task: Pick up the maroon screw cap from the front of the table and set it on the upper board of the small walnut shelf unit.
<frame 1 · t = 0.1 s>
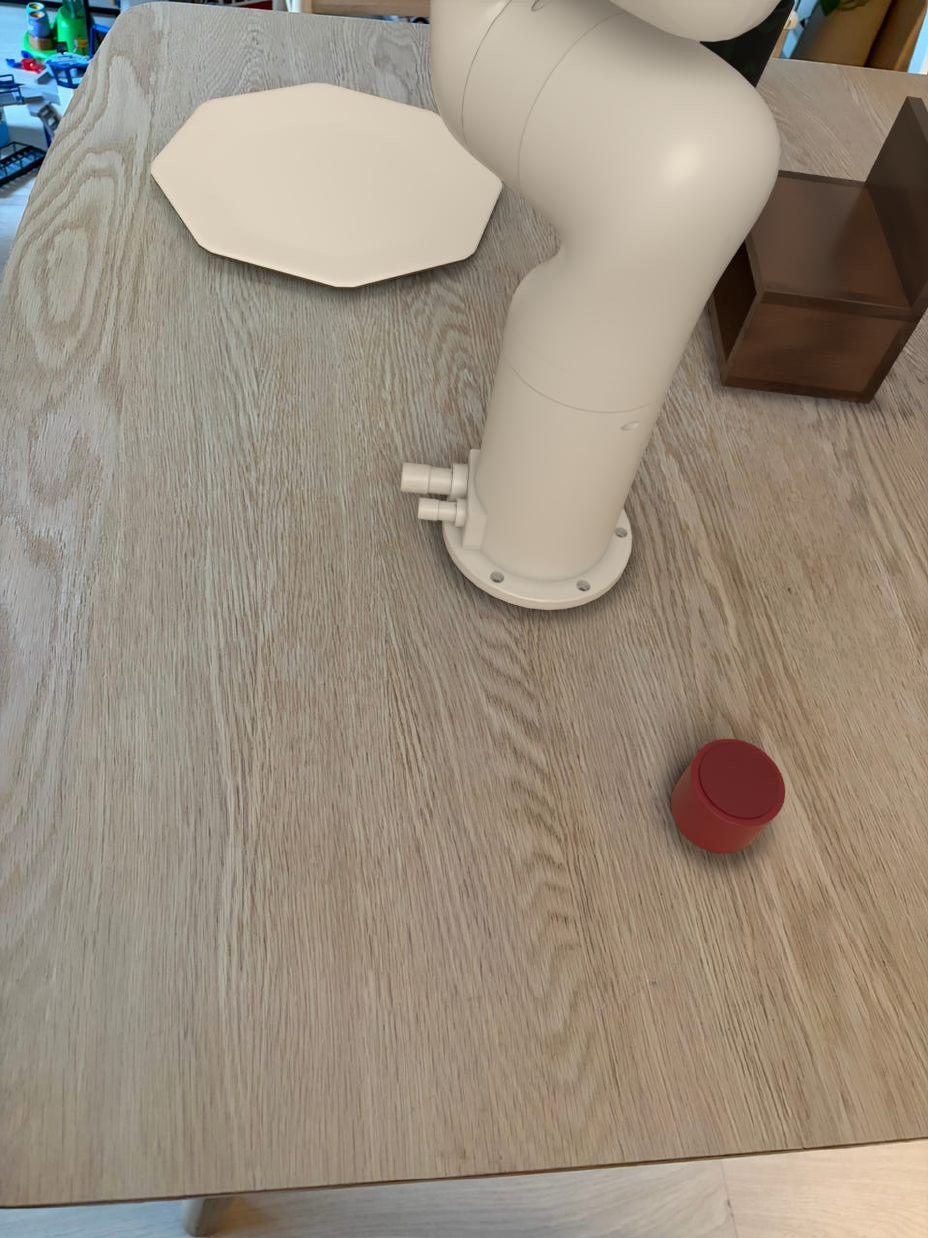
plate: (331, 192, 88), on the table
cap: (715, 810, 58), on the table
shelf: (780, 328, 85), on the table
cup: (710, 119, 103), on the table
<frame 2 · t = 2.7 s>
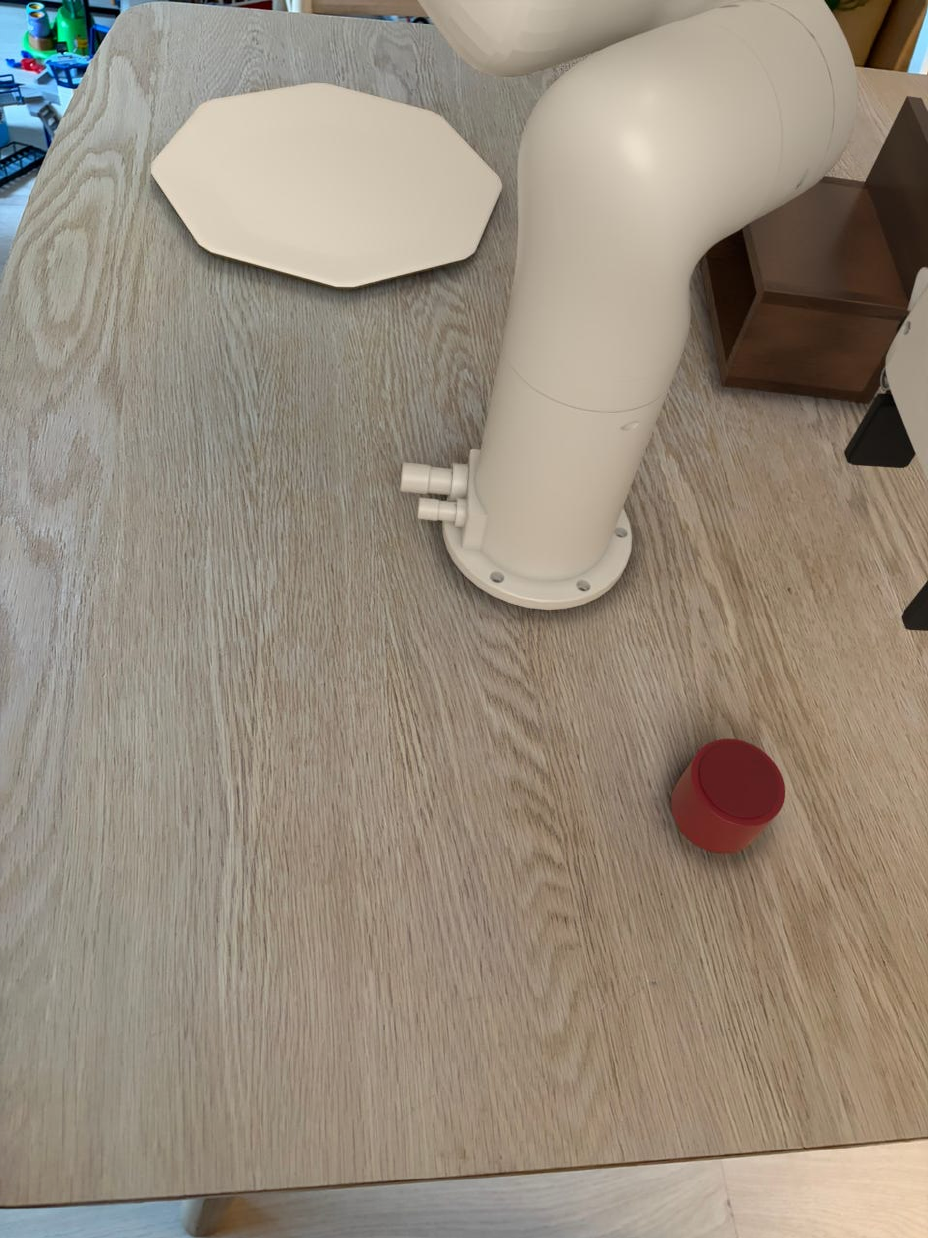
hand: (902, 538, 47), 18 cm above the table, tool pointing down, fingers open, 9 cm apart
nothing on the table moved.
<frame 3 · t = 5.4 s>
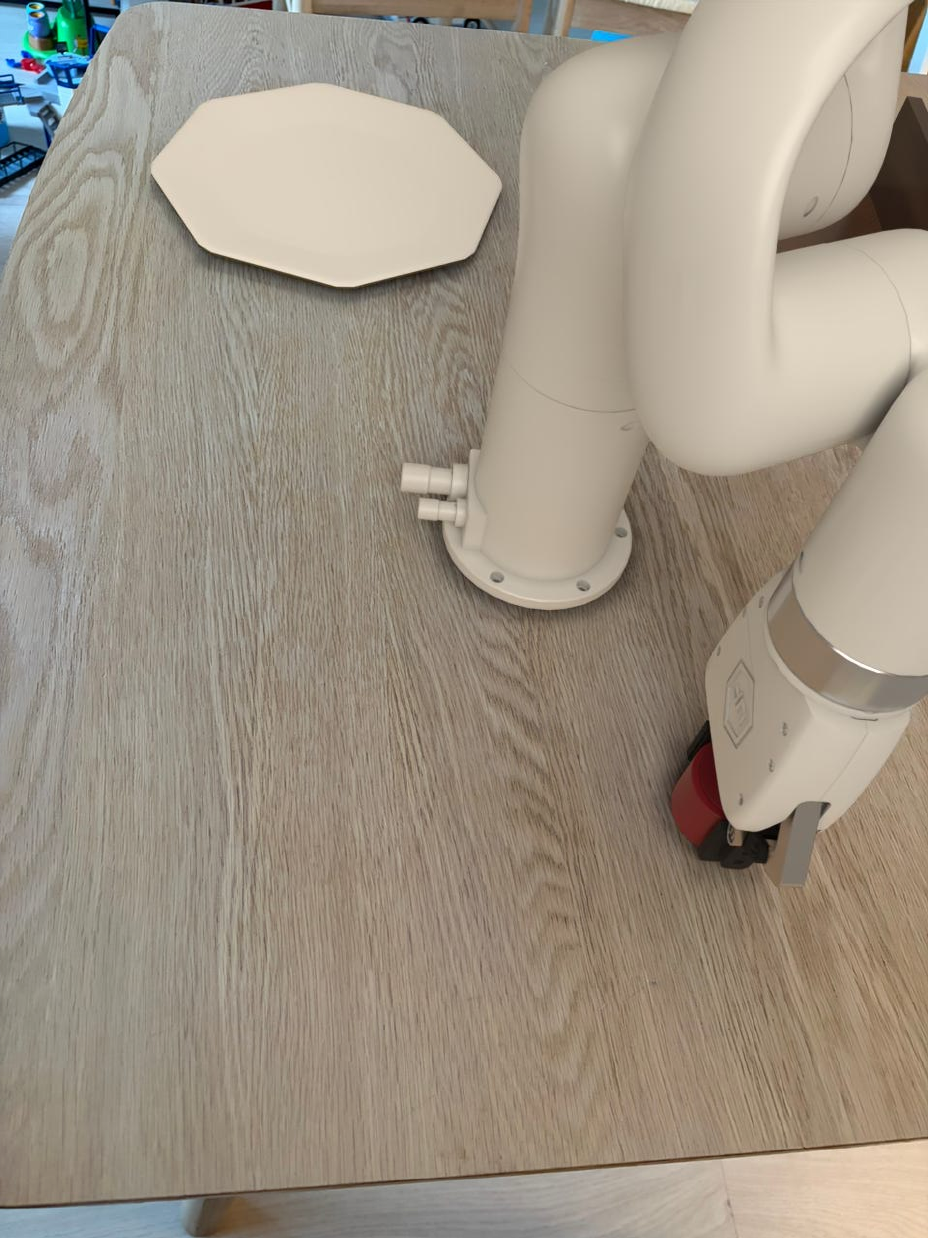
hand: (719, 806, 58), 1 cm above the table, tool pointing down, fingers closed on cap, 5 cm apart
cap: (715, 810, 58), on the table, touching gripper
everything else where it was.
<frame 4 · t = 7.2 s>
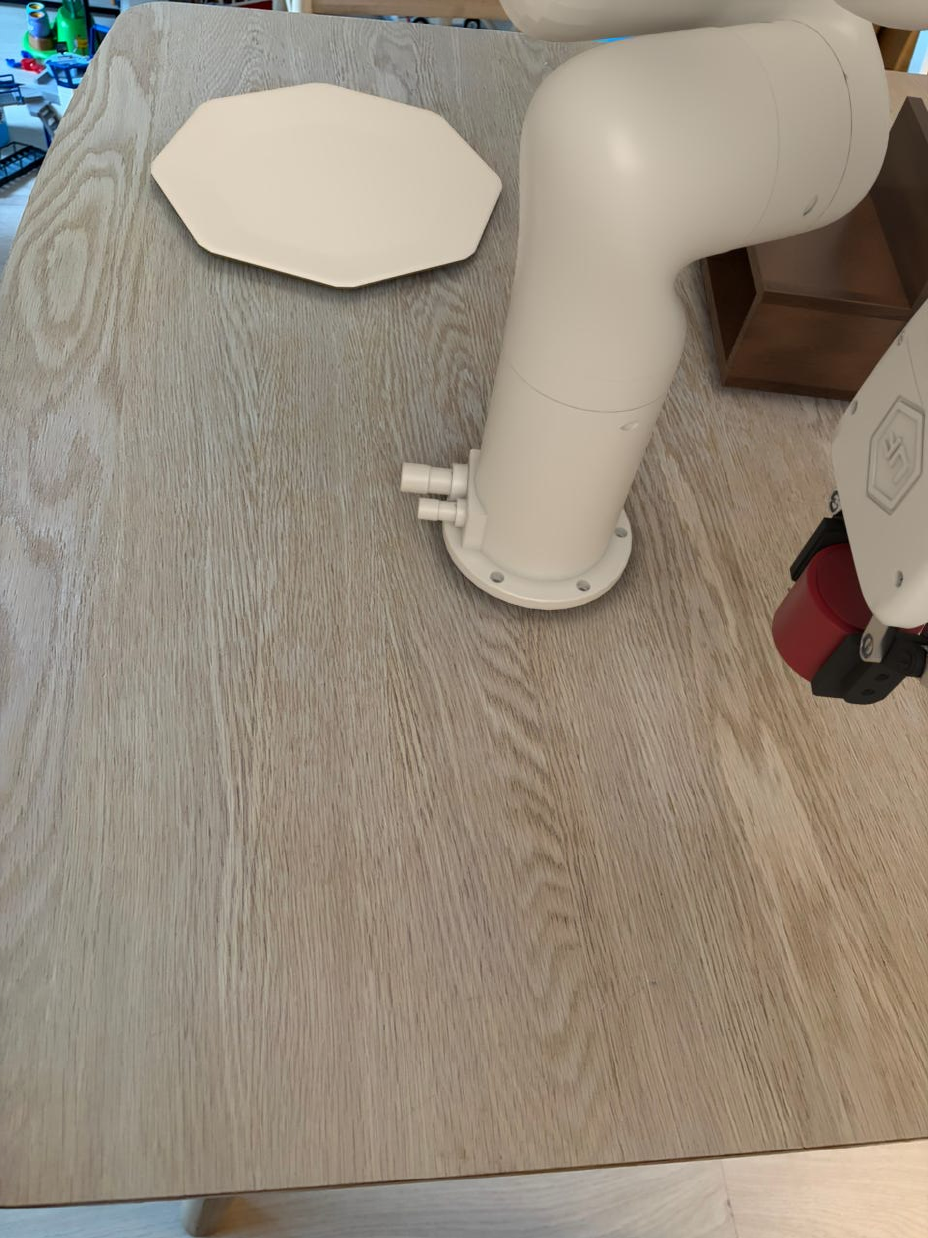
hand: (834, 632, 45), 17 cm above the table, tool pointing down, fingers closed on cap, 5 cm apart
cap: (827, 641, 46), point 16 cm above the table, touching gripper
everything else where it was.
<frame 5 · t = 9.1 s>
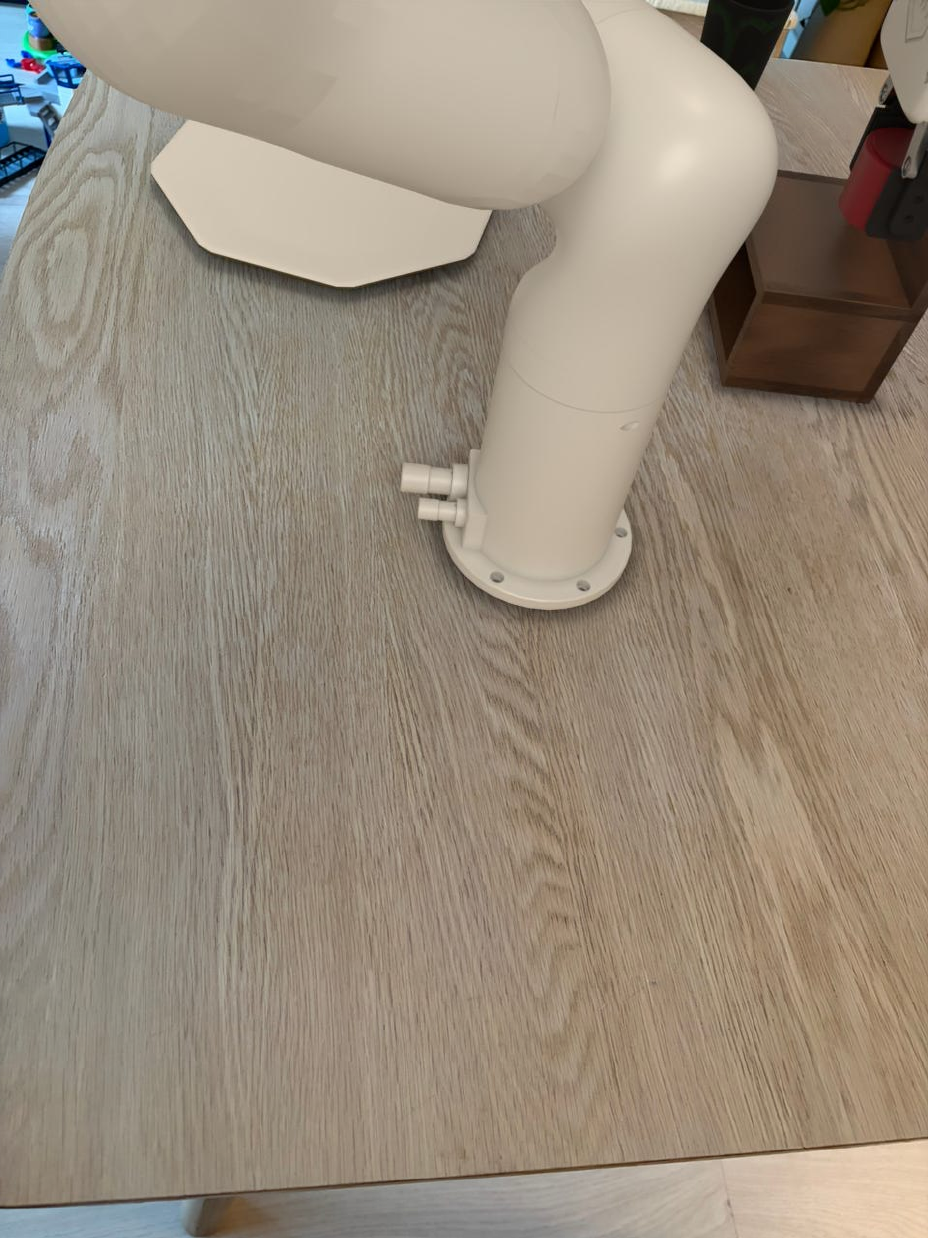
hand: (883, 202, 60), 20 cm above the table, tool pointing down, fingers closed on cap, 5 cm apart
cap: (881, 212, 61), point 19 cm above the table, touching gripper
everything else where it was.
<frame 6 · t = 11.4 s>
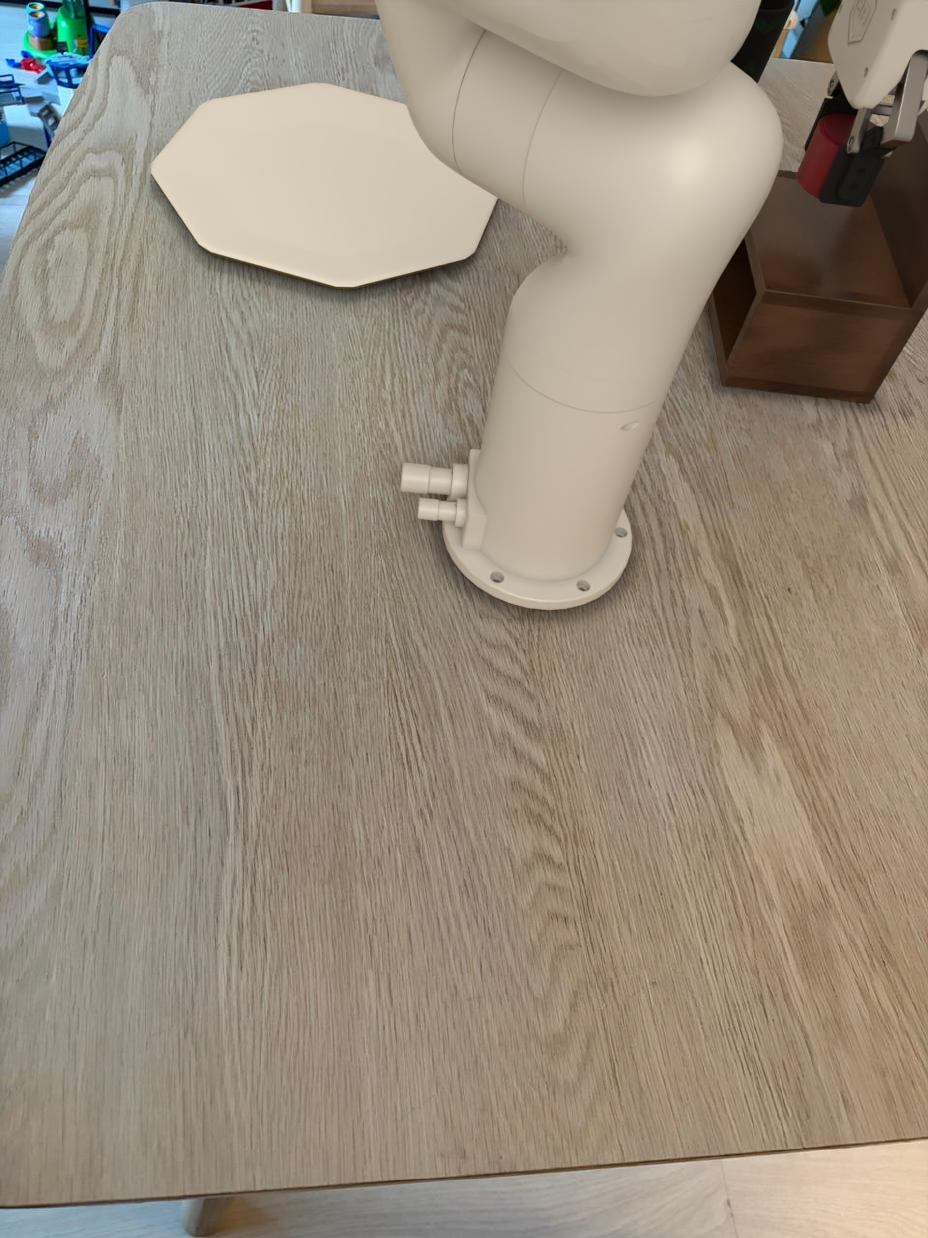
hand: (832, 175, 74), 13 cm above the table, tool pointing down, fingers closed on cap, 5 cm apart
cap: (831, 183, 74), point 13 cm above the table, touching gripper
everything else where it was.
when the fingers open (10 cm above the table, at t = 12.8 s): cap stays where it is, resting on shelf.
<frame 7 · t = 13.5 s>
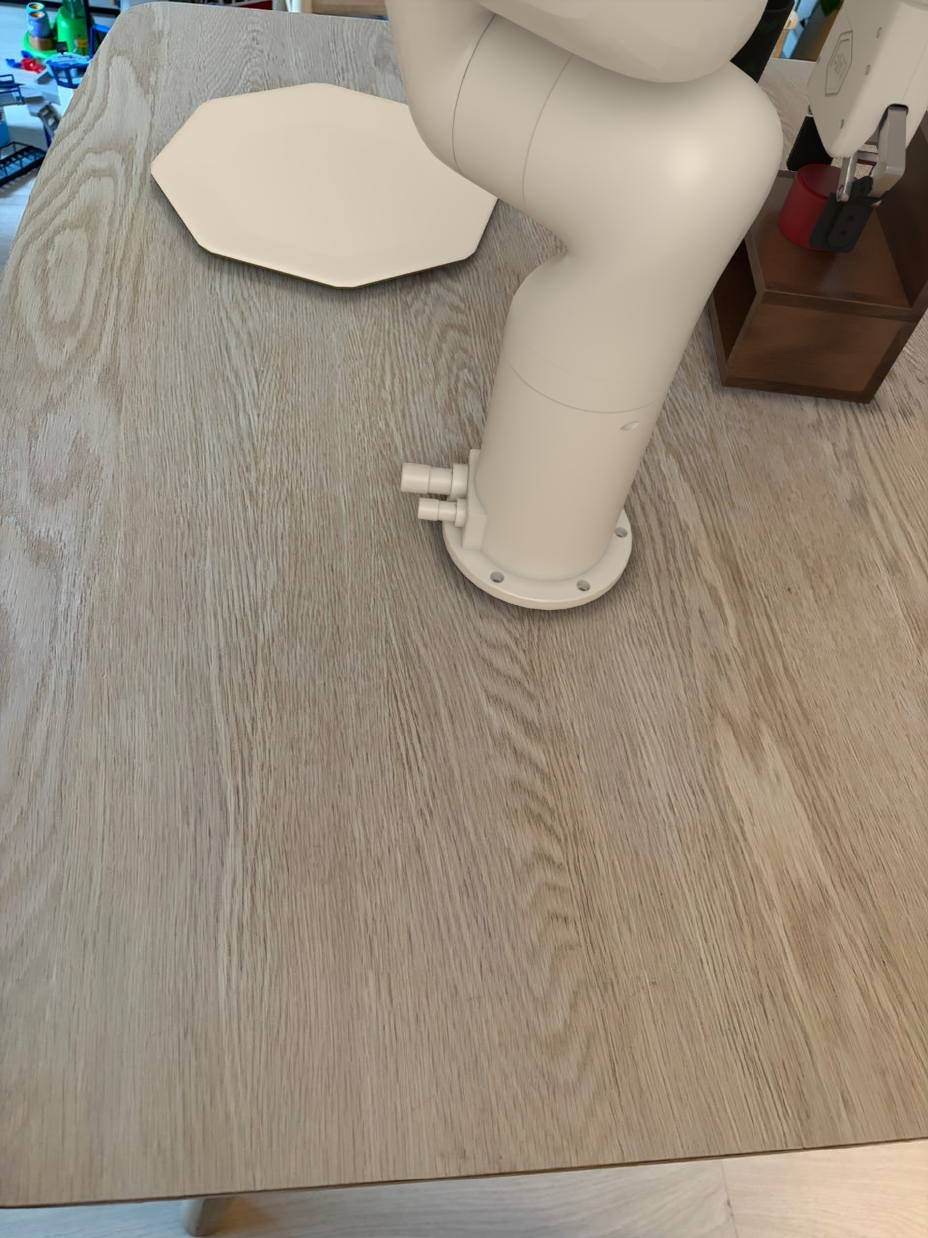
hand: (816, 208, 76), 11 cm above the table, tool pointing down, fingers open, 9 cm apart
cap: (810, 229, 77), point 9 cm above the table, touching shelf
everything else where it was.
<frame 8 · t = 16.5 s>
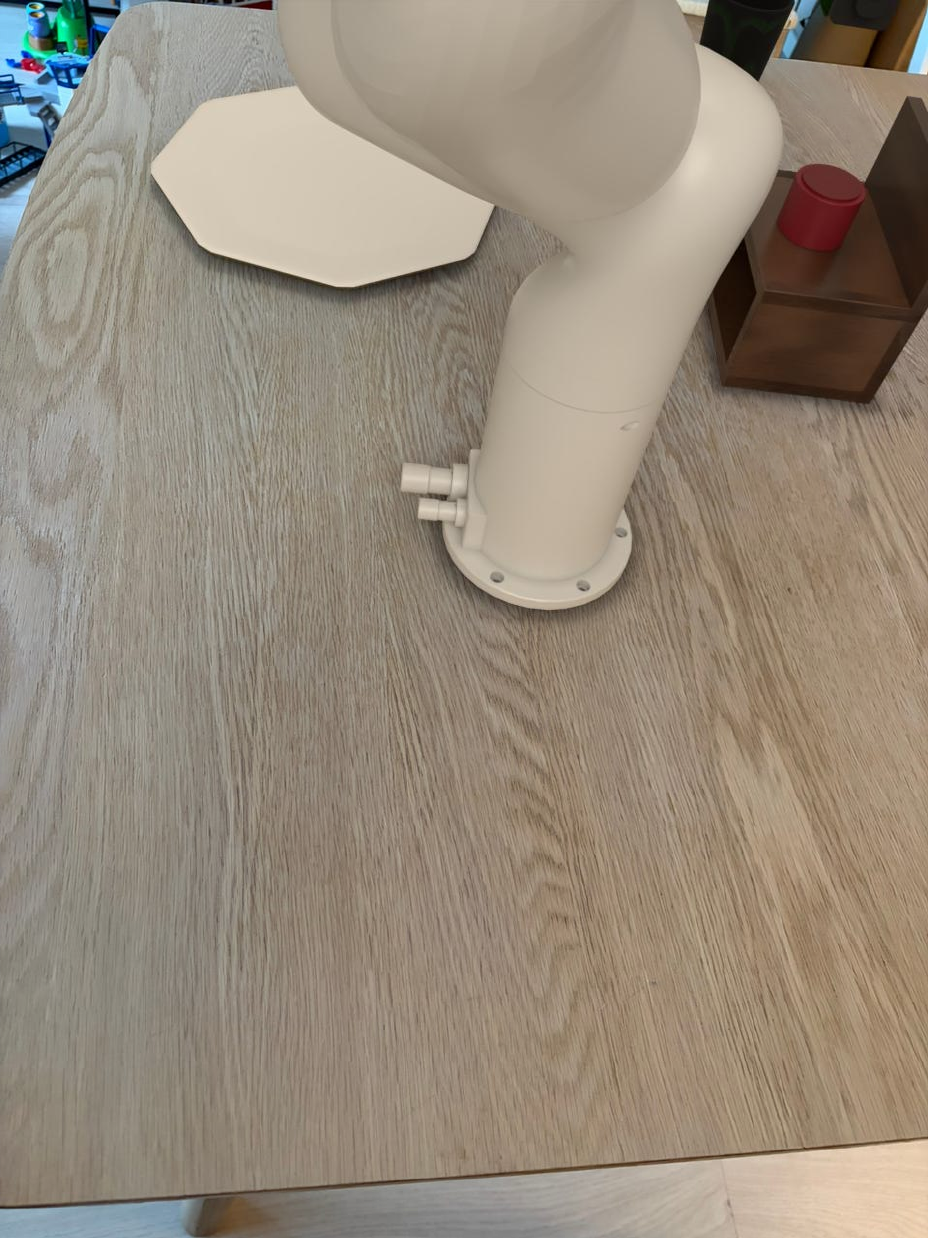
nothing on the table moved.
at the end: cap inside the target area on the shelf (0.7 cm from its centre), point 9.0 cm above the shelf's base; cap tilted 0°; the gripper is holding nothing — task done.
